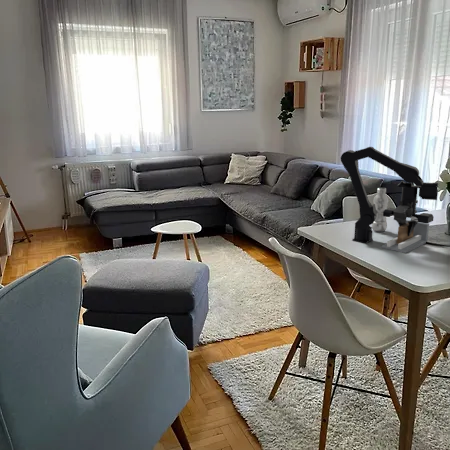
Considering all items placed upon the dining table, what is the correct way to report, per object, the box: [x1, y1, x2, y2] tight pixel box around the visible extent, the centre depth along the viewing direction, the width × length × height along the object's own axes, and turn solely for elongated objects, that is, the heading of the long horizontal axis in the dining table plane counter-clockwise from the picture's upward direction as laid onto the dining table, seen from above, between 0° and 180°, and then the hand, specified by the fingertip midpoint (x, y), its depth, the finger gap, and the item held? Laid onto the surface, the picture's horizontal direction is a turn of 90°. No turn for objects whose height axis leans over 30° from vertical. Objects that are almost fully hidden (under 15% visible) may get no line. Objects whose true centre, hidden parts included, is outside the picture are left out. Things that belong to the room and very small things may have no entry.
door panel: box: [396, 223, 414, 244], centre depth 181 cm, size 2×10×7 cm, turn 133°
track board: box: [381, 219, 430, 254], centre depth 182 cm, size 10×20×8 cm, turn 133°
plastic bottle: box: [371, 187, 390, 233], centre depth 201 cm, size 6×7×20 cm
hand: (405, 235), depth 182 cm, fingers closed on door panel, 2 cm apart
